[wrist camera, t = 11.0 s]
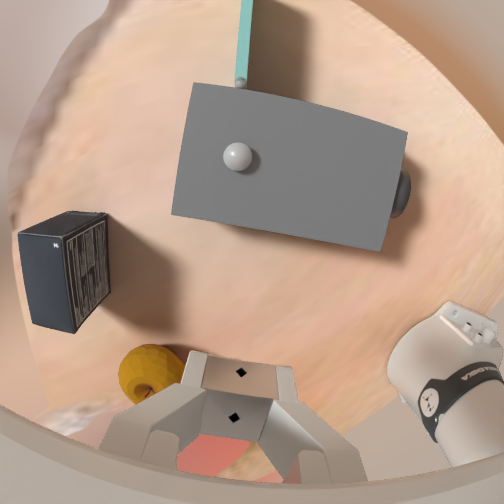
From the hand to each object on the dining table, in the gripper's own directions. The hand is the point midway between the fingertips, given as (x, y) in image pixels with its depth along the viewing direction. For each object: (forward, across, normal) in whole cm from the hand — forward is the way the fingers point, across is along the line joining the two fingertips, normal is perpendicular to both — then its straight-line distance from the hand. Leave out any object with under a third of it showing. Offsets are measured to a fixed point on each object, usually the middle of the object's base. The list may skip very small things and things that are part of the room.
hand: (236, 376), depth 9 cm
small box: (+27, -19, -8) cm, 34 cm away
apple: (+28, -8, -21) cm, 35 cm away
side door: (+26, -4, +19) cm, 33 cm away
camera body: (+27, +4, +6) cm, 28 cm away
